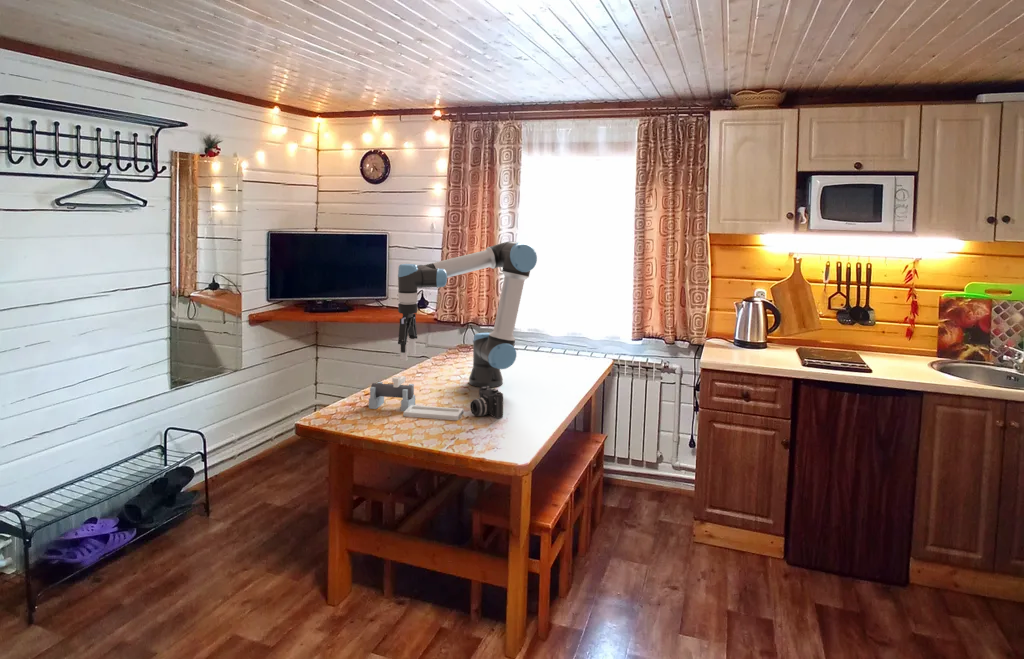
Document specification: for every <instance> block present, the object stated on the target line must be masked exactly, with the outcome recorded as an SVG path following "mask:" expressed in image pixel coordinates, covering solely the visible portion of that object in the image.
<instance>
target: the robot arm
mask: <svg viewBox="0 0 1024 659" xmlns="http://www.w3.org/2000/svg"><path fill="white" fill-rule="evenodd" d="M537 261H538V256H537V252H536V251H535V249H534V248H533V247H532V246H531V245H530V244H529V243H528V244H527V243H525V242H519V241H511V240H510V241H503V242H501V243H499V244H495V245H490V246H487V247H486V249H485V250H481V251H477V252H473V253H469V254H465V255H464V254H463V255H461V256H456V257H452V258H448V259H444V260H440V261H435V262H432V263H428V264H418V265H417V264H416V263H402V264H400V265H398V269H397V280H398V281H397V284H398V288H397V290H398V292H397V295H396V296H397V297H398V298H397V300H398V304H397V306H398V309H397V312H398V313H399V314H402V317H401V318H399V327H398V328H399V330H398V342H397V345H399V347H400V348H399V359H400V361H406V362H407V361H408V355H413V356H414V355H416V339H418V331H417V320H416V315H417V313H418V289H421V288H437V289H438V288H444V287H445V286H446V285H447V282H448V278H451V277H455V276H459V275H464V274H467V273H470V272H471V273H472V272H475V271H479V270H483V269H487V268H490V269H492V270H493V269H498V268H502V269H501V270H502V274H503V276H504V278H503V282H502V288H501V293H500V297H499V302H498V307H497V311H496V312H497V313H496V316H495V321H494V326H493V331H491V332H478V333H475V334H474V335H473V341H472V343H473V344H472V345H473V354H472V355H473V357H472V360H473V361H472V362H473V364H472V368H471V372H470V375H469V378H468V384H469V385H471V386H473V387H479V388H481V387H487V386H489V388H495V387H499V386H502V385H503V384H504V383H503V381H504V379H503V376H502V371H501V370H506V369H508V368H511V367H512V366H513V364H514V363H515V361H516V360H517V359H516V358H517V350H516V348H515V344H516V338H515V336H514V331H515V326H516V322H517V316H518V313H519V307H520V304H521V299H522V293H523V291H524V290H523V289H524V284H525V280H527V279H528V278H530V275H531V274H530V273H531V271H532V270H533V269H534V268H535V266H536V264H537ZM407 342H408V343H407Z"/></svg>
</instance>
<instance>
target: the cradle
mask: <svg viewBox="0 0 1024 659" xmlns="http://www.w3.org/2000/svg"><path fill="white" fill-rule="evenodd" d="M377 383H380V384H383V381H378V382H377ZM414 384H415V383H409V384H408V385H409V386H413V387H414V386H415V385H414ZM369 395H370V396H369V398H368V409H371V410H373V409H374V410H377V409H378V408H380V407H381V406H382V405H383V404H384V403H385V397H383V396H376V387H371V386H370V388H369ZM411 405H416V394H415V393H414V394H413V397H412V398H408V389H403V390H402V398H401V401H400V411H401V412H404V411H405V410H406V409H407V408H408V407H409V406H411Z"/></svg>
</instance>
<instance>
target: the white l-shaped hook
mask: <svg viewBox="0 0 1024 659" xmlns="http://www.w3.org/2000/svg"><path fill="white" fill-rule="evenodd" d="M391 380H392V383H393V384H394V387H397V388H398V387H399V386H400V385H403V384H404V383H405V382H406V375H401V376H393V377H392V379H391Z"/></svg>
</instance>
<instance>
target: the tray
mask: <svg viewBox="0 0 1024 659" xmlns="http://www.w3.org/2000/svg"><path fill="white" fill-rule="evenodd" d="M402 412H403V417H409V418H422V419H423V418H424V419H435V420H436V419H437V420H446V421H447V420H449V421H459V419H460V418H461V416H463V414H464V408H460V407H458V408H457V407H445V406H442V407H441V406H430V405H417V404H415V405H411V406H409V407H408V408H407V409H406V410H405V411H402Z"/></svg>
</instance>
